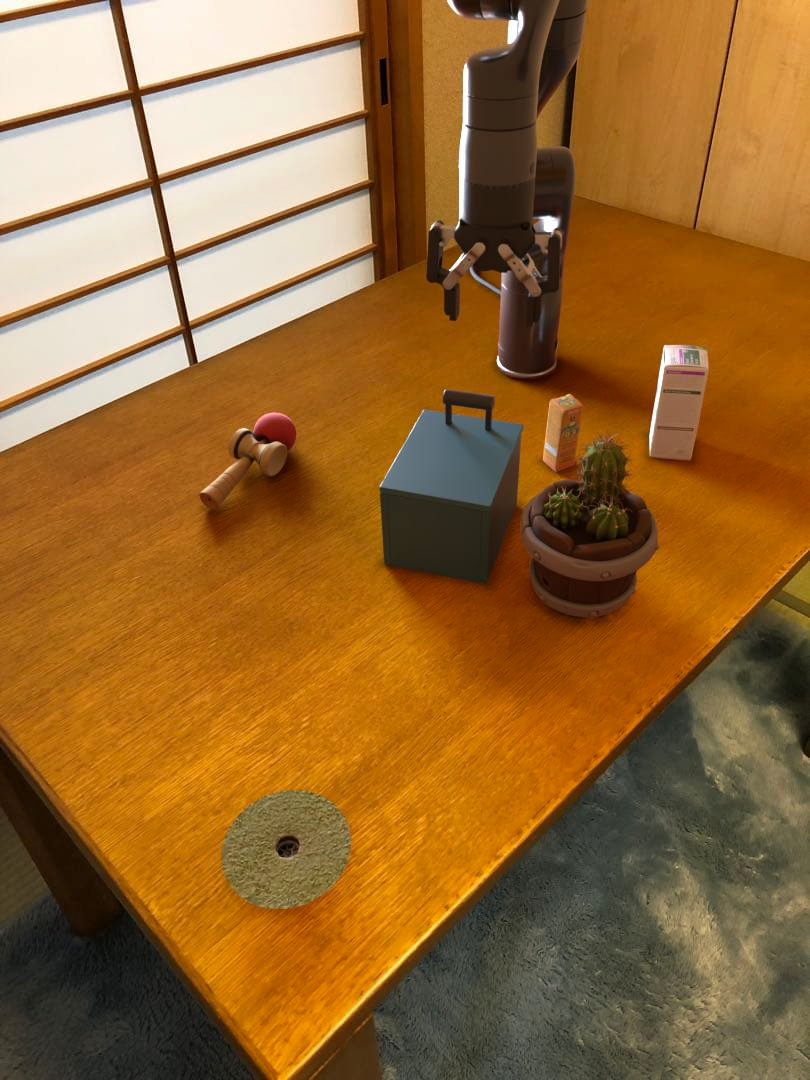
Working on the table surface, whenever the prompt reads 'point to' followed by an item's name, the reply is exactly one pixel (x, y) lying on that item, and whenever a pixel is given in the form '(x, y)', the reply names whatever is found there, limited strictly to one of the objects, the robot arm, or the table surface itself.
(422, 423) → the lid
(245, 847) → the mat
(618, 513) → the flowerpot
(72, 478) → the table surface
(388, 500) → the bin
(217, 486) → the kendama
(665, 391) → the syrup box
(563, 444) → the supplement box
